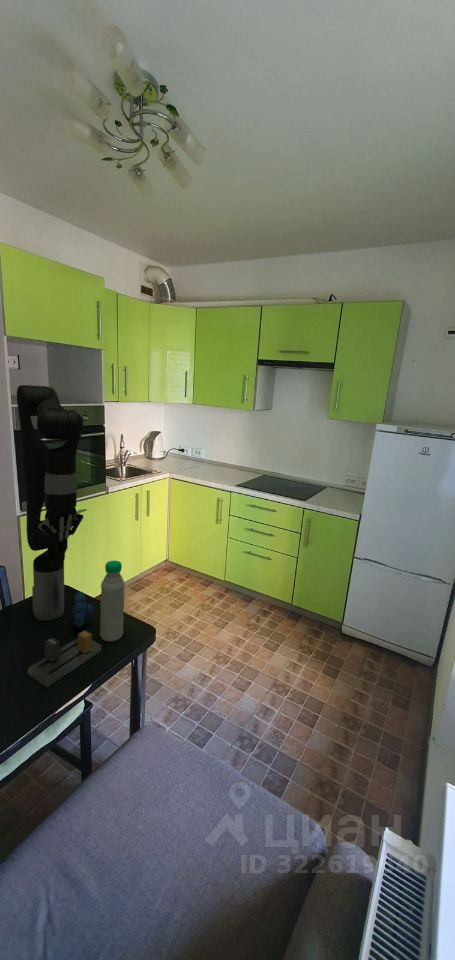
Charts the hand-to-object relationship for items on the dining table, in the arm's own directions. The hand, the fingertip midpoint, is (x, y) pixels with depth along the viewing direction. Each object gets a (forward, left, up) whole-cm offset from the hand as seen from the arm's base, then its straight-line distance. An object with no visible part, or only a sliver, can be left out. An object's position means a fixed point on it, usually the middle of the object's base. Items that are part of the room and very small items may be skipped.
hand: (61, 551), depth 103 cm
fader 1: (0, -3, -31) cm, 31 cm away
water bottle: (+3, +16, -33) cm, 37 cm away
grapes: (-8, +14, -33) cm, 37 cm away
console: (+2, 0, -33) cm, 33 cm away
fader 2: (+4, +4, -31) cm, 31 cm away
